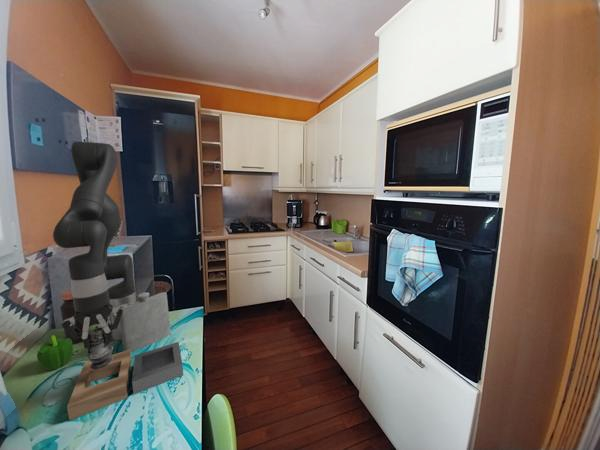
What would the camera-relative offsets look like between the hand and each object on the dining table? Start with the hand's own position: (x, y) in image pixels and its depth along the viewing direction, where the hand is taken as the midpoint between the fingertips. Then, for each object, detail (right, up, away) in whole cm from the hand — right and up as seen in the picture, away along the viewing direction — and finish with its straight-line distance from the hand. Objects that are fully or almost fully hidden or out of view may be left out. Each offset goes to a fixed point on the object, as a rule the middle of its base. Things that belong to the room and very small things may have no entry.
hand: (99, 345), depth 69 cm
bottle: (-29, -10, +24) cm, 39 cm away
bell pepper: (-23, -12, +11) cm, 28 cm away
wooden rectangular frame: (0, -13, +2) cm, 13 cm away
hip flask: (+1, -10, +22) cm, 24 cm away
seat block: (+13, -12, +7) cm, 19 cm away
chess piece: (0, -6, +1) cm, 6 cm away
